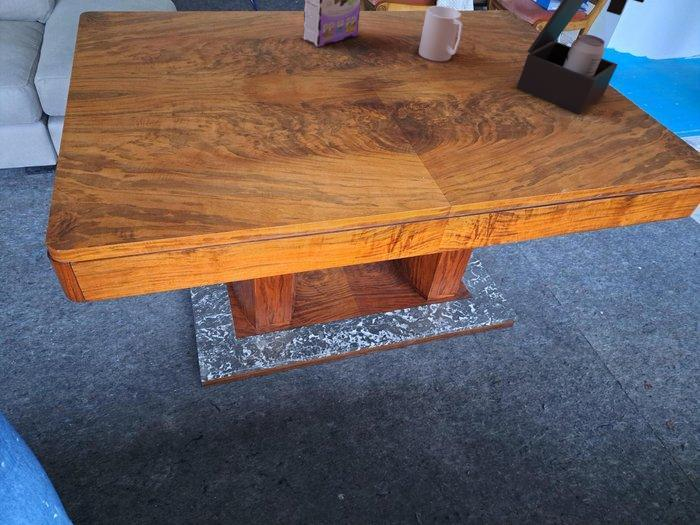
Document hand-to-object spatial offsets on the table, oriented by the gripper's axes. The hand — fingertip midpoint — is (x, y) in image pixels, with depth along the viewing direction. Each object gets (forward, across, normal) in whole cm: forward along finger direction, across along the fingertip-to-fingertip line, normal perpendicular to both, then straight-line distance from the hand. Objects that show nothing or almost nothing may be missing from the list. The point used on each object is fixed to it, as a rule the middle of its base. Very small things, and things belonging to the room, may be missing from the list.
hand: (625, 6), depth 104 cm
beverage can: (+19, -3, +3) cm, 20 cm away
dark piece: (+20, -3, +5) cm, 21 cm away
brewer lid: (+4, -3, +10) cm, 11 cm away
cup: (+20, -11, +34) cm, 41 cm away
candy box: (+19, -25, +58) cm, 66 cm away
